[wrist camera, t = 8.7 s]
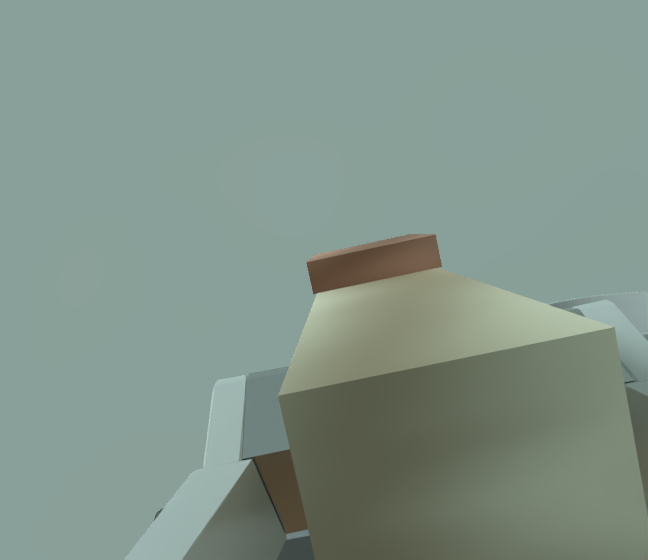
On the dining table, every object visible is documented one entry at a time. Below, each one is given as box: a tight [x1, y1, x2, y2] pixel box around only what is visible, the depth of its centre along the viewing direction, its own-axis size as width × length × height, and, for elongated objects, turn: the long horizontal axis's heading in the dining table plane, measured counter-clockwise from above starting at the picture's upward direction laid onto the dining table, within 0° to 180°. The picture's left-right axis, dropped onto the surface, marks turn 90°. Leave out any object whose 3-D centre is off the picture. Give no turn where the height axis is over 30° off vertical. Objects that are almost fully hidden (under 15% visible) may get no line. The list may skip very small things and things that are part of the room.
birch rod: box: [278, 234, 648, 560], centre depth 16 cm, size 3×22×4 cm, turn 178°
